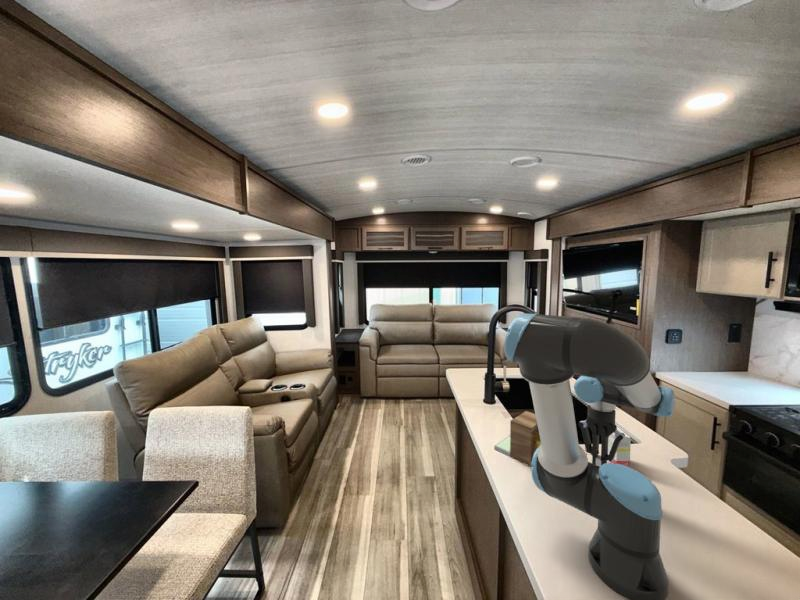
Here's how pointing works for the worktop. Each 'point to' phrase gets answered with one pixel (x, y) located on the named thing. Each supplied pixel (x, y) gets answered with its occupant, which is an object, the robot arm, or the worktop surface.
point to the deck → (505, 447)
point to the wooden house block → (523, 437)
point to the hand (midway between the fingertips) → (599, 476)
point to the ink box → (621, 449)
